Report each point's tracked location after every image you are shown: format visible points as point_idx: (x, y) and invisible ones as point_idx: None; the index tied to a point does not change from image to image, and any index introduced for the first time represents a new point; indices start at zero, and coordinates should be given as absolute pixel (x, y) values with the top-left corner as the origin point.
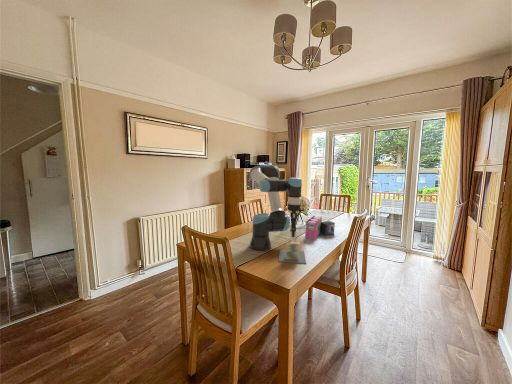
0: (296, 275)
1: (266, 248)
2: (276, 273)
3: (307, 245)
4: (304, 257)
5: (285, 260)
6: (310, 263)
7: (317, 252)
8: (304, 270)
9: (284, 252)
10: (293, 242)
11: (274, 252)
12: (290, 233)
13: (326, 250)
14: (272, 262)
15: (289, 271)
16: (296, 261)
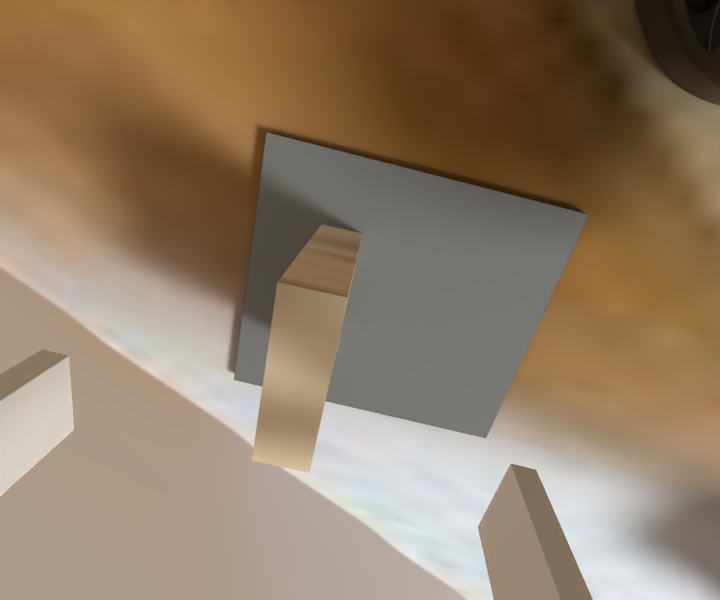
0: (23, 243)
1: (652, 3)
2: (8, 53)
3: (627, 503)
4: (345, 400)
5: (279, 211)
6: (251, 409)
7: (455, 519)
8: (123, 329)
9: (485, 247)
10: (309, 400)
11: (534, 126)
12: (512, 475)
13: (482, 582)
14: (253, 48)
15: (79, 199)
16: (260, 312)
